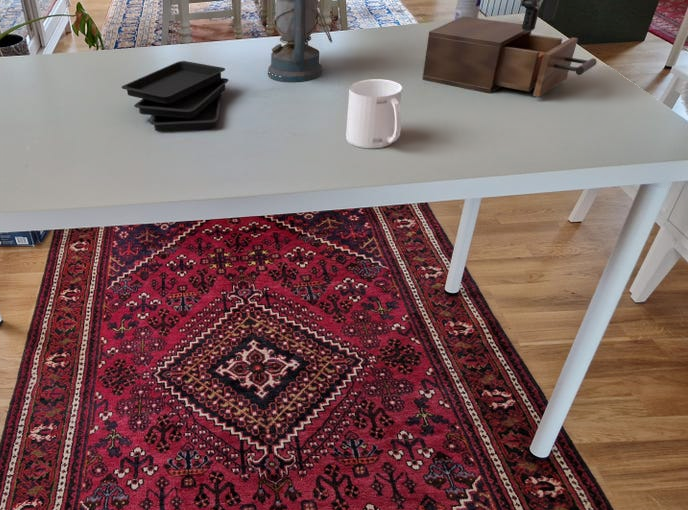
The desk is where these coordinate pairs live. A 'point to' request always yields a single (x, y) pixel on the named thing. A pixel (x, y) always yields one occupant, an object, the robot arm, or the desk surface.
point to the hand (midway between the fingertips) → (537, 24)
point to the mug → (374, 113)
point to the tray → (180, 96)
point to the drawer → (521, 63)
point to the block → (538, 64)
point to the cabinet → (468, 52)
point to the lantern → (296, 41)
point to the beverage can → (467, 8)
